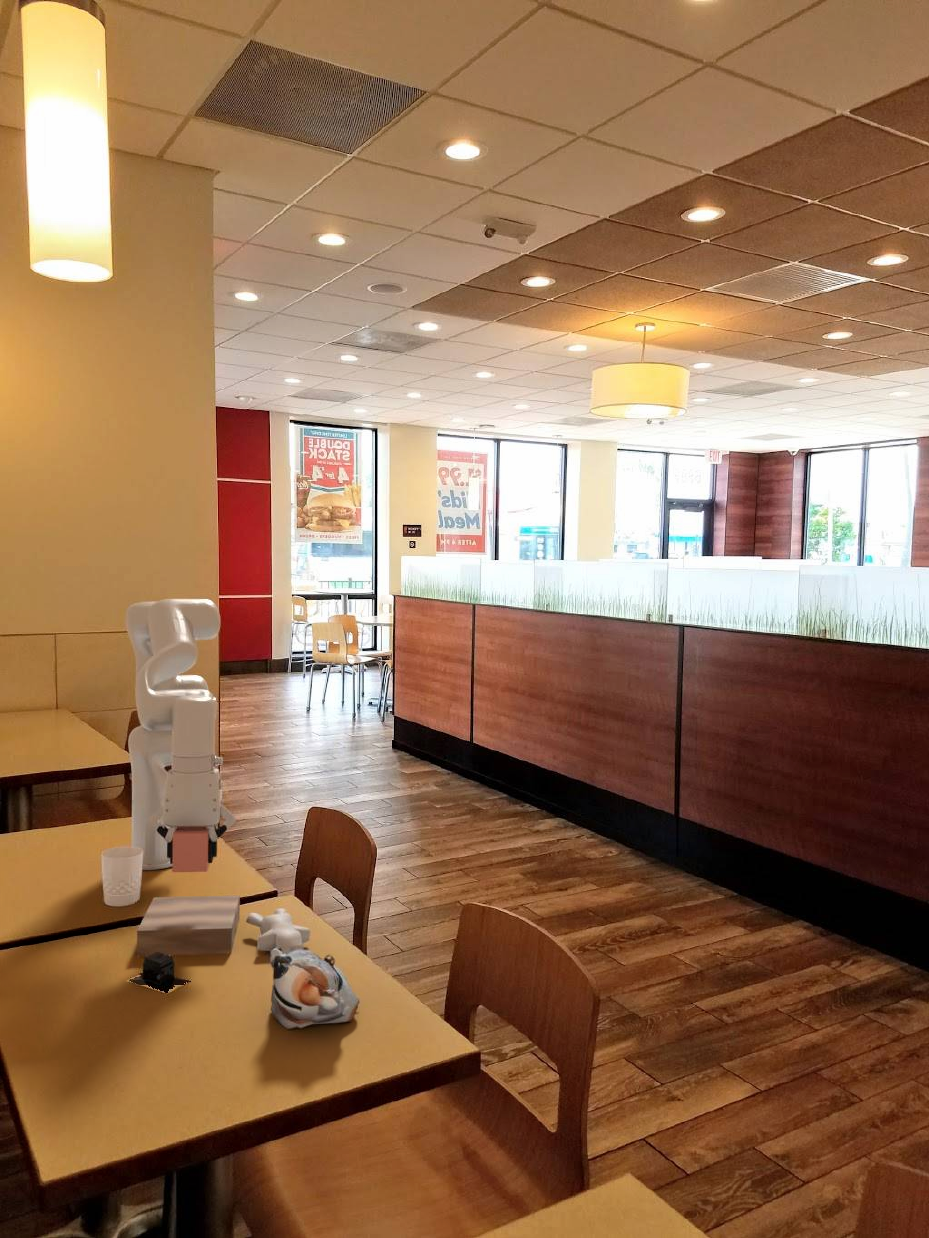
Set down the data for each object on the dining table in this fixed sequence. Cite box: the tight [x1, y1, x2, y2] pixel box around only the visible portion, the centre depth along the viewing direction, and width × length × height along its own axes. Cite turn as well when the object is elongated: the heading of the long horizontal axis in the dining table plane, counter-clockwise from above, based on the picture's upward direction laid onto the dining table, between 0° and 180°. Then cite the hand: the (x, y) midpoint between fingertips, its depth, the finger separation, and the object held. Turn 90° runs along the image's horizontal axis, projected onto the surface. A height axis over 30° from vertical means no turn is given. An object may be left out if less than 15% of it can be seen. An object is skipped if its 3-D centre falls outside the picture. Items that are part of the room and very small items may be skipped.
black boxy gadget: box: [129, 952, 192, 993], centre depth 152 cm, size 12×7×5 cm, turn 63°
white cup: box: [100, 845, 143, 908], centre depth 186 cm, size 8×8×10 cm
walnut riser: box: [136, 895, 241, 957], centre depth 170 cm, size 16×16×5 cm
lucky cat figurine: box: [269, 947, 360, 1030], centre depth 140 cm, size 15×12×14 cm
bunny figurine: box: [245, 907, 311, 954], centre depth 168 cm, size 10×5×15 cm
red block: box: [171, 827, 211, 873], centre depth 169 cm, size 6×6×7 cm
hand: (192, 860), depth 169 cm, fingers closed on red block, 6 cm apart
